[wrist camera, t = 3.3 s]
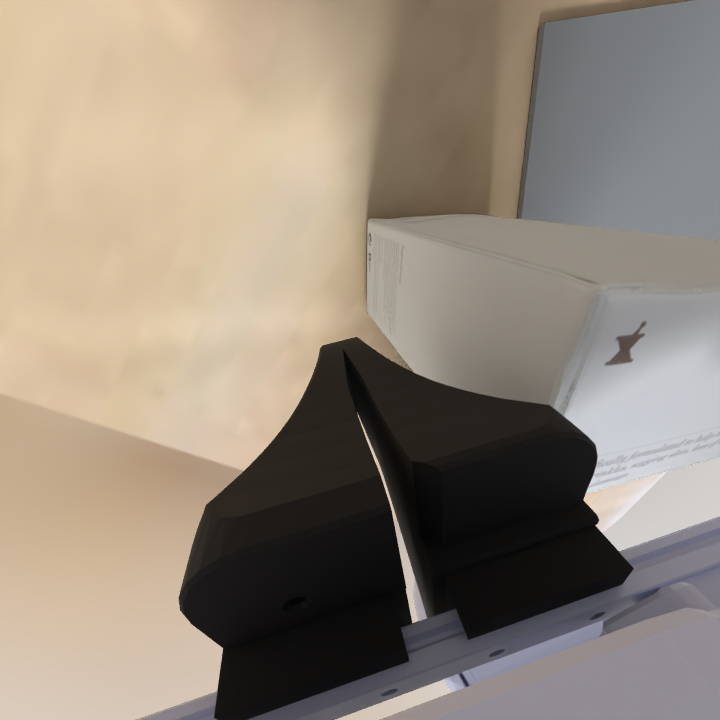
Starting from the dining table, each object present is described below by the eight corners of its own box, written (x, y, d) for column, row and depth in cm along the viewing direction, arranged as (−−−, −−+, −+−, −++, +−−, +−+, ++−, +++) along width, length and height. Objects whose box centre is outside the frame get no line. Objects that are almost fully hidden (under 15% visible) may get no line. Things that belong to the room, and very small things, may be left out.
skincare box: (364, 311, 20) (498, 529, 7) (365, 210, 17) (598, 289, 4) (478, 302, 21) (751, 469, 9) (498, 208, 18) (962, 259, 6)
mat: (684, 317, 27) (689, 319, 26) (500, 367, 25) (503, 369, 25) (842, -20, 16) (854, -24, 16) (539, 26, 14) (545, 22, 14)
